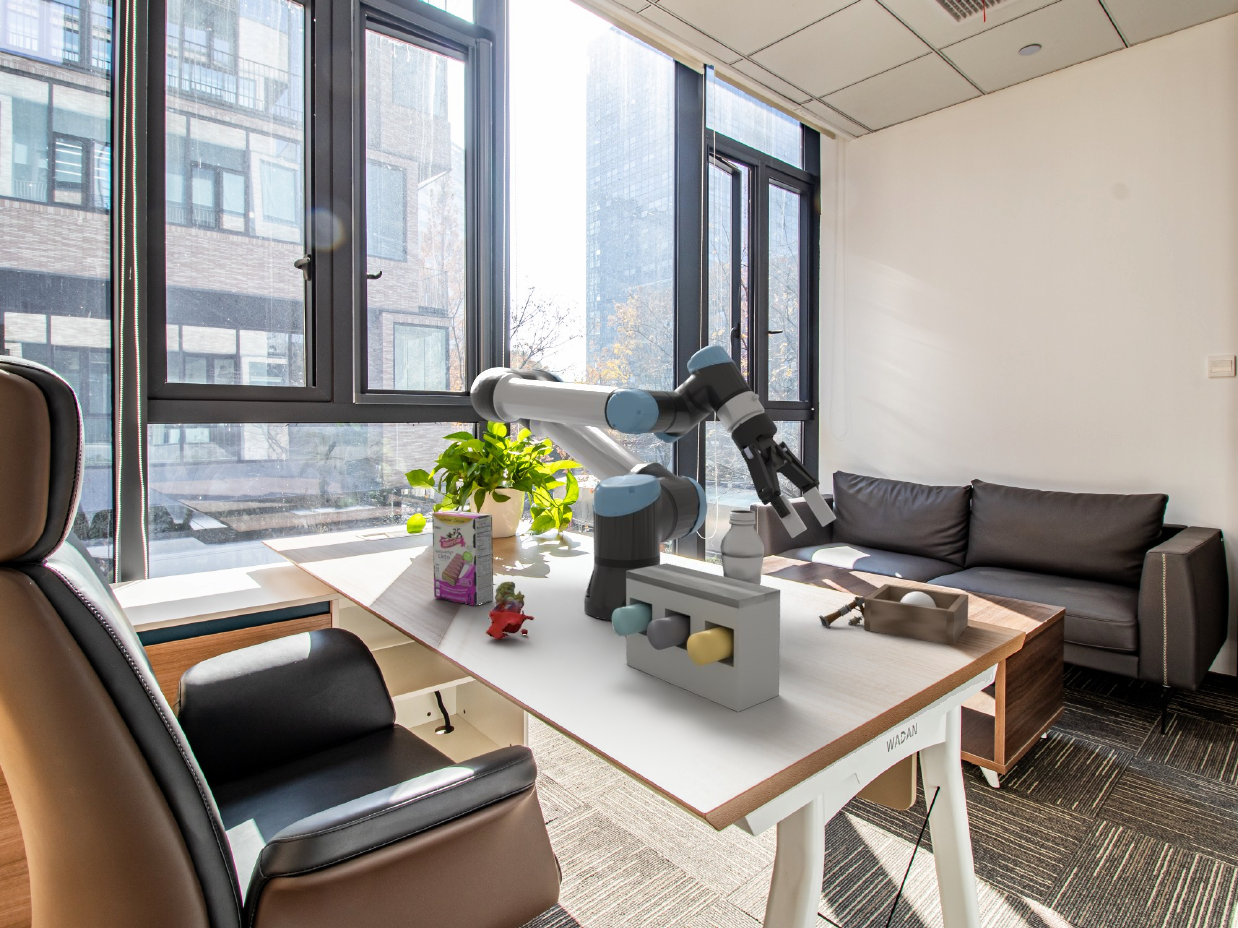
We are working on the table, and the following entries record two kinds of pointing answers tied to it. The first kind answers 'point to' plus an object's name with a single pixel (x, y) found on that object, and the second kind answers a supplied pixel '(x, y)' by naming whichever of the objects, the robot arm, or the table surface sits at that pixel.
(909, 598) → the white egg
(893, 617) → the organizer frame
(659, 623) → the charcoal button
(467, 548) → the candy bar box
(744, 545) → the plastic bottle
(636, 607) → the teal button
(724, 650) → the amber button
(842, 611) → the wooden post with brackets
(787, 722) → the table surface
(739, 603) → the console
